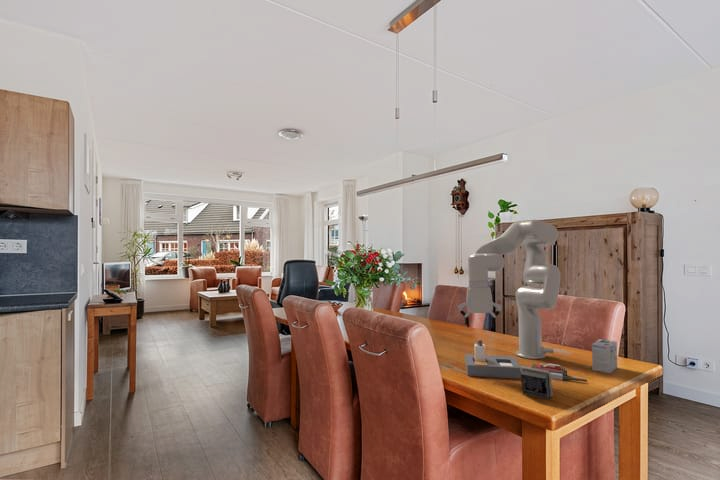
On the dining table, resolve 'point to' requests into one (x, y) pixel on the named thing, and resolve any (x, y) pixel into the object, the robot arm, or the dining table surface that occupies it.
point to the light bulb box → (604, 355)
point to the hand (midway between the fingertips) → (480, 326)
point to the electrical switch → (536, 382)
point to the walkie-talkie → (556, 372)
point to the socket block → (493, 366)
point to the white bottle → (480, 351)
